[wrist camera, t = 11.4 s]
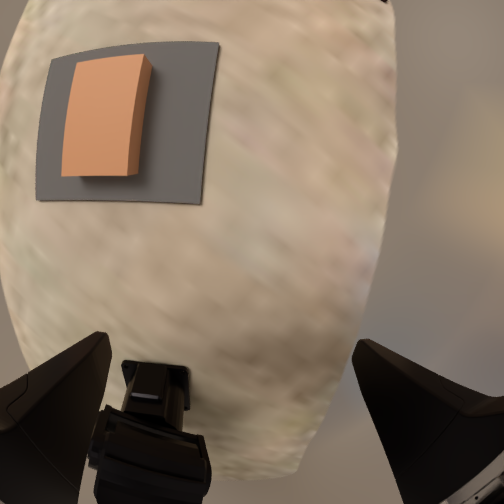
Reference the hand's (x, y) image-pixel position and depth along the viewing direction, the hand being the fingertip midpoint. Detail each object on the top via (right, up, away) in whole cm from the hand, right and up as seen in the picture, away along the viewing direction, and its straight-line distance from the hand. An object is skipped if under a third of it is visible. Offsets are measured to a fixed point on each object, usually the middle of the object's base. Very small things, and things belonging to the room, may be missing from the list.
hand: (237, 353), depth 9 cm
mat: (-9, +13, +7) cm, 17 cm away
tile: (-9, +13, +7) cm, 17 cm away
